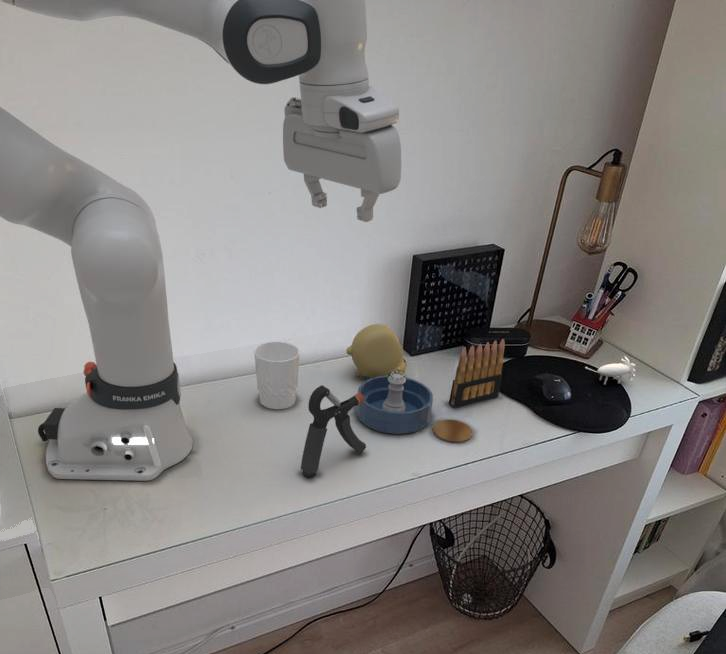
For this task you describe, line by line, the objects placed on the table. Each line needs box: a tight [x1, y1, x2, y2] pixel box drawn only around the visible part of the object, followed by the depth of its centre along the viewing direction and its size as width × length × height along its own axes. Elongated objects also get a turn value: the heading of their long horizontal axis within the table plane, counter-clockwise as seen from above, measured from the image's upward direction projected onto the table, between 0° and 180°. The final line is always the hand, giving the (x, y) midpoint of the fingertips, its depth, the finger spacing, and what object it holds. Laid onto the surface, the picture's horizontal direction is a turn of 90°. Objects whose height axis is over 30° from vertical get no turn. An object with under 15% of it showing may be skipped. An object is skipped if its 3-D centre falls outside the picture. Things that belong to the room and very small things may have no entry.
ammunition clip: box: [448, 338, 506, 409], centre depth 128 cm, size 11×2×12 cm, turn 120°
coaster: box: [432, 419, 473, 444], centre depth 122 cm, size 7×7×1 cm
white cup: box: [253, 341, 300, 410], centre depth 123 cm, size 8×8×10 cm
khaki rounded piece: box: [346, 323, 408, 379], centre depth 134 cm, size 10×12×11 cm
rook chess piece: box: [382, 371, 406, 412], centre depth 122 cm, size 4×4×8 cm
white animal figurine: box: [584, 355, 638, 386], centre depth 139 cm, size 12×5×5 cm, turn 105°
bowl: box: [356, 376, 434, 435], centre depth 124 cm, size 13×13×4 cm
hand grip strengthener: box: [300, 384, 367, 479], centre depth 107 cm, size 2×13×15 cm, turn 132°
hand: (341, 213), depth 98 cm, fingers open, 8 cm apart
